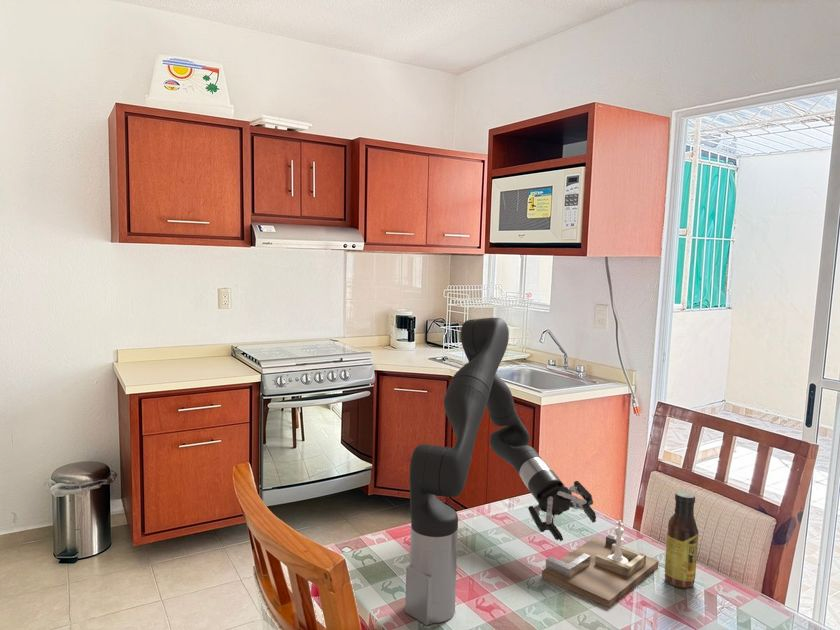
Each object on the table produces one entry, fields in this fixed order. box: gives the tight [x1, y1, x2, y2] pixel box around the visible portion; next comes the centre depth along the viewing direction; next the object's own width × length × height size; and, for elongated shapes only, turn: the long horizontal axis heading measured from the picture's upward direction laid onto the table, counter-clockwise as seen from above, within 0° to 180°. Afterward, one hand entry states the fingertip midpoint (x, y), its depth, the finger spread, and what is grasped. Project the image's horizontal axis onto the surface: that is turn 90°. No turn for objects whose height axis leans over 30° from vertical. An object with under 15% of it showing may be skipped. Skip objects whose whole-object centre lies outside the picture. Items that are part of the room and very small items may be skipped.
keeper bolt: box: [545, 553, 591, 578], centre depth 135 cm, size 9×6×2 cm, turn 135°
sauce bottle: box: [664, 490, 699, 589], centre depth 132 cm, size 6×6×20 cm
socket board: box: [541, 534, 659, 608], centre depth 136 cm, size 24×16×4 cm, turn 135°
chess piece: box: [607, 519, 629, 565], centre depth 137 cm, size 5×5×10 cm
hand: (578, 529), depth 133 cm, fingers open, 8 cm apart
